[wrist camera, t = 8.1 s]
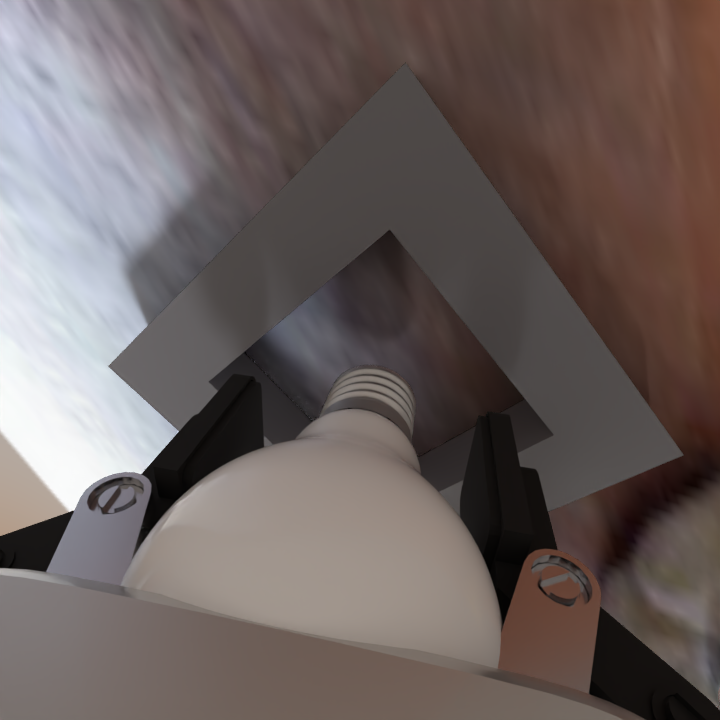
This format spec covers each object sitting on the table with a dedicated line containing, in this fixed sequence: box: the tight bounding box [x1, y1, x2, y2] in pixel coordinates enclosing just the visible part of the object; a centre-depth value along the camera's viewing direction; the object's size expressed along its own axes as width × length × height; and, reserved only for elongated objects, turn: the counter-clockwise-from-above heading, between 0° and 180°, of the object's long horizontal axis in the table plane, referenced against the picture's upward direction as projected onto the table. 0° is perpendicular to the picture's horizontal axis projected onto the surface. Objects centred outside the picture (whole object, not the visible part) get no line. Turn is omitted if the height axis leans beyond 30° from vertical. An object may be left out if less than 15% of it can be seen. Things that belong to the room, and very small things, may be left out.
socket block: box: [108, 63, 683, 516], centre depth 15 cm, size 13×13×2 cm
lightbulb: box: [120, 365, 503, 669], centre depth 10 cm, size 6×6×11 cm
